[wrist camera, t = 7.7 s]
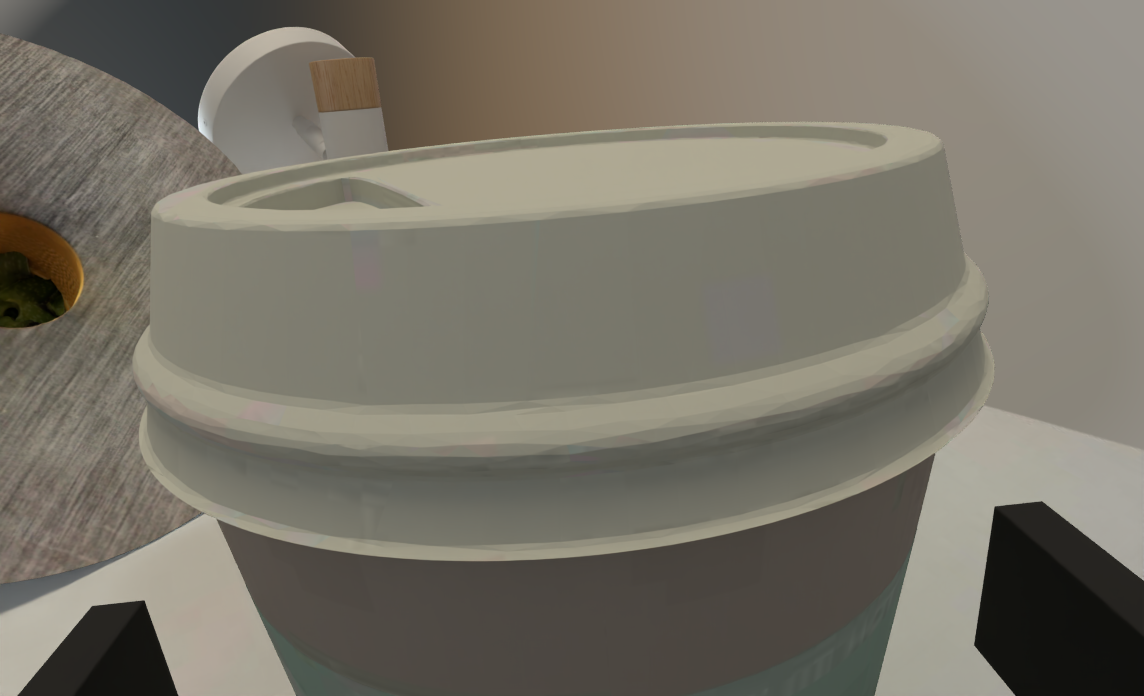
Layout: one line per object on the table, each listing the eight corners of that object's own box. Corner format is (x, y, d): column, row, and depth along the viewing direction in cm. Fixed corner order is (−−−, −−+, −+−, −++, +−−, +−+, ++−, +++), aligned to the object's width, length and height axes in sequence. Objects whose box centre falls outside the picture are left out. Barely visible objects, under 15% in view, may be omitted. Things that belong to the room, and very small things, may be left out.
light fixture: (346, 438, 49) (416, 210, 36) (189, 248, 55) (203, -3, 42) (478, 375, 58) (571, 175, 45) (331, 218, 64) (377, 4, 52)
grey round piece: (332, 464, 48) (96, 195, 49) (435, 334, 36) (120, -23, 36) (-121, 797, 30) (-490, 362, 30) (-218, 760, 18) (-829, 39, 18)
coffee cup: (443, 687, 20) (344, 146, 15) (832, 706, 19) (870, 106, 13) (221, 1269, 10) (-293, 272, 5) (1012, 1422, 9) (1422, 180, 3)
